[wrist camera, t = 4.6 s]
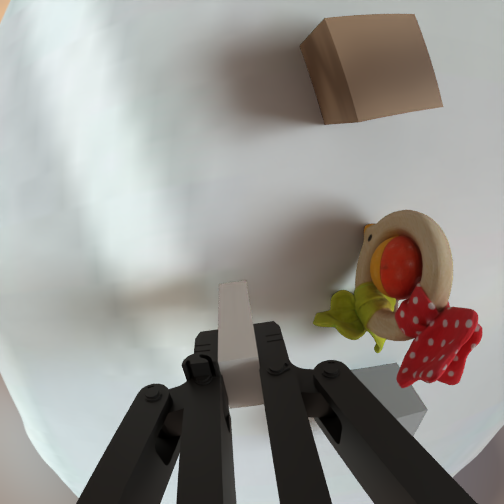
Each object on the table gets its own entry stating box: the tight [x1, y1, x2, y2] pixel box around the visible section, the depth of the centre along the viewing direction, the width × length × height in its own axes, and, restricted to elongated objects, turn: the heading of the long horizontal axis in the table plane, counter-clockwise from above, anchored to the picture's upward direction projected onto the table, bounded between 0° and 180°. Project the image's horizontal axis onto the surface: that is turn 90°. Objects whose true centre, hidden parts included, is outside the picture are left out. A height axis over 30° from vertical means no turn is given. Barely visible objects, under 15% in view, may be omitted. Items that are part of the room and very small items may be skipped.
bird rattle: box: [313, 210, 482, 388], centre depth 16 cm, size 6×11×9 cm
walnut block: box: [300, 14, 443, 125], centre depth 14 cm, size 5×5×5 cm
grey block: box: [351, 363, 427, 436], centre depth 22 cm, size 5×5×6 cm
